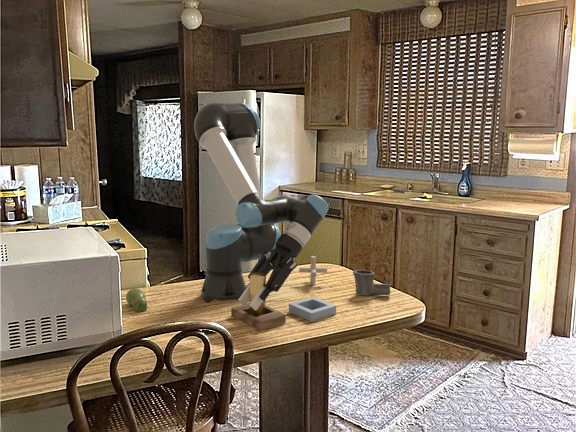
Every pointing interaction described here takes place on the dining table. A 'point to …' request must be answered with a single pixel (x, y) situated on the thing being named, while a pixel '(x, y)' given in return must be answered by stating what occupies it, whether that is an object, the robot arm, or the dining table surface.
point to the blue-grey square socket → (312, 309)
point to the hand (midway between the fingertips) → (247, 305)
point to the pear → (137, 300)
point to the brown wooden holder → (260, 322)
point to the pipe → (369, 284)
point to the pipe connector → (313, 270)
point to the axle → (255, 285)
